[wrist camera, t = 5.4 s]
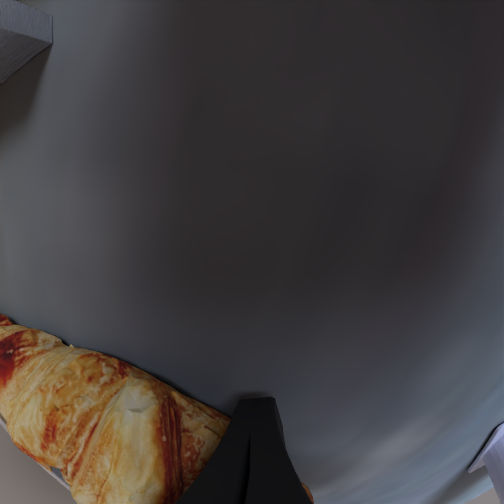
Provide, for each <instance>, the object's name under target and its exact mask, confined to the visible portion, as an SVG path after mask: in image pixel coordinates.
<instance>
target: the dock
mask: <svg viewBox="0 0 504 504" xmlns="http://www.w3.org/2000/svg"><path fill="white" fill-rule="evenodd" d="M51 44H52V15H50V14H48V13H45V12H43V11H40V10H38V9H35V8H33V7H30V6H28V5H25V4H23V3H20V2H17V1H15V0H0V84H1V83H2V82H4V81H5V80H6V79H7V78H8V77H9V76H10V75H12V74H13V73H14V72H15V71H16V70H18V69H19V68H20V67H21V66H23V65H24V64H25V63H26V62H28V61H29V60H30V59H32V58H33V57H34V56H36V55H37V54H38V53H40V52H41V51H42V50H44V49H45V48H47V47H48V46H49V45H51ZM0 424H1V425H2V426H3V427H4V428H5V430H6V431H7V426H6V424H7V421H6V420H5V418H4V417H3V416H2V415H1V413H0ZM7 432H8V431H7ZM37 463H38V462H37ZM38 464H39V463H38ZM39 465H40V466H41V467H43V466H42V465H41V464H39ZM43 468H44V469H45V470H46V471H47V472H48V473H49V474H50V475H51V476H53V477H54V478H55V479H56V480H58V481H59V482H60V483H61V484H62V485H63V486H65V487H66V488H67V489H68V490H70V485H69V484H68V483H67V482H65V480H64V478H63V476H62V473H61V470H60V469H59V468H55V467H52V473H51V472H50V471H48V470H47V469H46V468H45V467H43ZM70 491H71V490H70Z"/></svg>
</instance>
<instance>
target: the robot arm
mask: <svg viewBox="0 0 504 504" xmlns="http://www.w3.org/2000/svg"><path fill="white" fill-rule="evenodd" d="M484 465H485V466H486V469H487V471H488V473H489V476H490V478H491V480H492V483H493V485H494V488H495V490H496V492H497V495H498V498H499V500H500V503H501V504H504V423H503V424H501V425H500V426H498V427H497V428H496V430H495V431H494V433H493V434H492V436H491V438H490V439H489V441H488V442H487V444H486V445H485V447H484V448H483V450H482V451H481V453H480V454H479V455H478V457H477V458H476V460H475V461H474V462H473V464H472V465H471V466H470V468H469V469H468V472H469V473H471V472H473V471H475V470H477V469H479V468H481V467H483V466H484ZM174 504H313V503H312V501H311V500H310V498H309V496H308V494H307V493H306V491H305V489H304V487H303V486H302V484H301V482H300V480H299V478H298V476H297V474H296V472H295V470H294V468H293V465H292V463H291V461H290V459H289V456H288V454H287V451H286V448H285V442H284V436H283V426H282V423H281V419H280V415H279V412H278V408H277V405H276V401H275V398H273V397H264V398H254V399H244V400H240V401H239V402H238V405H237V407H236V410H235V412H234V414H233V417H232V419H231V421H230V423H229V425H228V427H227V429H226V431H225V433H224V435H223V437H222V439H221V441H220V443H219V444H218V446H217V448H216V450H215V451H214V453H213V455H212V456H211V458H210V459H209V461H208V462H207V464H206V465H205V467H204V468H203V470H202V471H201V473H200V474H199V475H198V477H197V478H196V479H195V481H194V482H193V483H192V484H191V485H190V487H189V488H188V489H187V490H186V491H185V492H184V494H183V495H182V496H181V497H180V498H179V499H178V500H177V501H176V502H175V503H174Z"/></svg>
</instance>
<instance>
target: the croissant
mask: <svg viewBox="0 0 504 504" xmlns="http://www.w3.org/2000/svg"><path fill="white" fill-rule="evenodd" d="M0 413H1V415H2V416H3V417H4V418H5V420H6V421H7V424H6V426H7V431H8V433H9V434H10V435H11V438H12V441H13V443H14V444H15V445H16V446H17V447H18V448H19V449H20V450H21V451H22V452H23V453H25V454H27V455H28V456H30V457H32V458H33V459H34V460H35V461H36V462H38V463H39V464H41V465H42V466H43V467H45V468H46V469H47V470H48V471H50V472H51V473H52V467H55V468H59V469H60V470H61V473H62V476H63V478H64V480H65V482H67V483H68V484H69V485H70V490H71V494H72V497H73V498H74V500H75V501H76V502H77V503H78V504H174V503H175V502H176V501H177V500H178V499H179V498H180V497H181V496H182V495H183V494H184V492H185V491H186V490H187V489H188V488H189V487H190V485H191V484H192V483H193V482H194V481H195V479H196V478H197V477H198V475H199V474H200V473H201V471H202V470H203V468H204V467H205V465H206V464H207V462H208V461H209V459H210V458H211V456H212V455H213V453H214V451H215V450H216V448H217V446H218V444H219V443H220V441H221V439H222V437H223V435H224V433H225V431H226V429H227V427H228V425H229V423H230V421H231V419H230V418H228V417H227V416H225V415H223V414H222V413H220V412H218V411H217V410H215V409H213V408H211V407H208V406H206V405H204V404H202V403H200V402H198V401H197V400H195V399H193V398H189V397H187V396H185V395H183V394H181V393H180V392H178V391H177V390H175V389H174V388H172V387H171V386H169V385H167V384H165V383H163V382H161V381H159V380H158V379H156V378H155V377H153V376H152V375H150V374H148V373H146V372H145V371H143V370H141V369H138V368H136V367H134V366H132V365H129V364H128V363H126V362H124V361H121V360H119V359H117V358H114V357H112V356H110V355H106V354H103V353H100V352H97V351H92V350H88V349H84V348H75V347H74V346H73V345H72V344H71V345H70V346H69V347H68V346H66V345H65V344H63V343H62V341H61V339H59V338H57V337H56V336H53V335H51V334H48V333H46V332H43V331H41V330H39V329H32V328H31V329H28V328H26V327H24V326H20V325H14V323H13V322H12V321H11V320H10V319H9V318H8V317H7V316H5V315H2V314H0ZM301 484H302V486H303V487H304V489H305V491H306V493H307V494H308V496H309V498H310V500H311V501H312V503H313V504H314V502H313V496H312V494H311V492H310V491H309V488H308V487H307V486H306V485H304V484H303V483H301Z"/></svg>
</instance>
